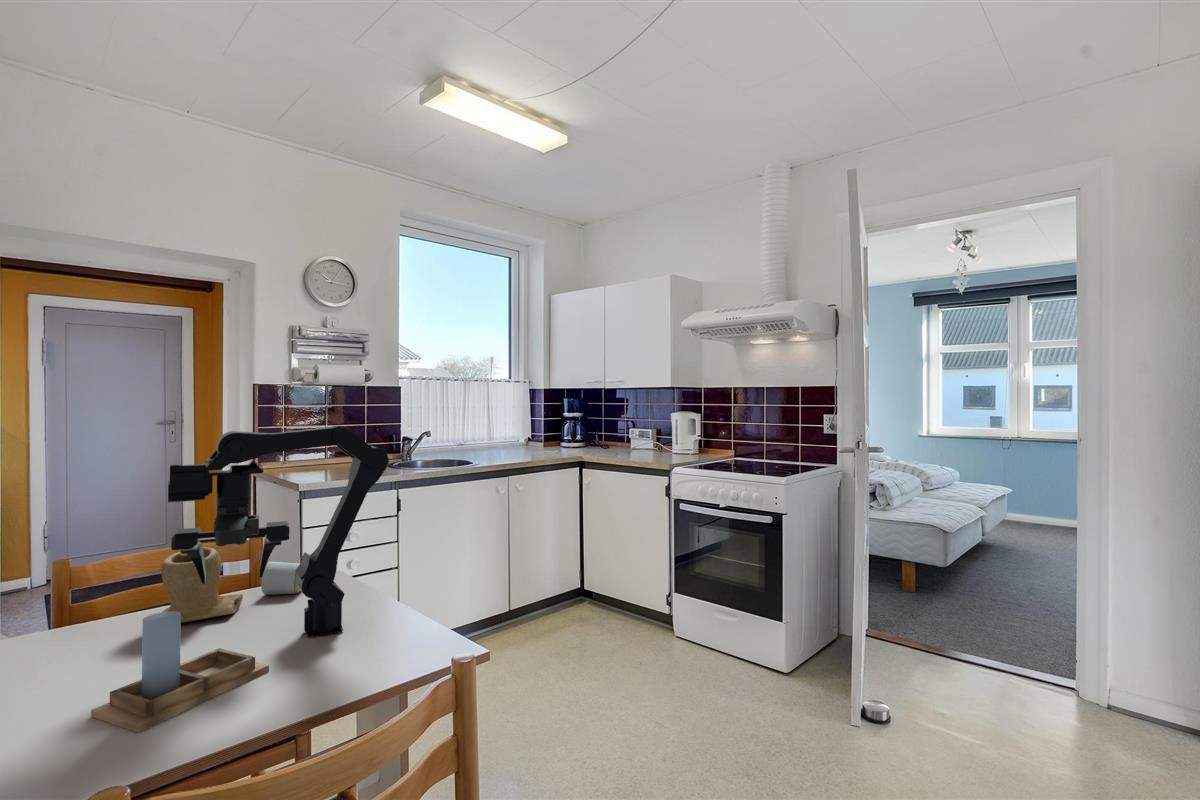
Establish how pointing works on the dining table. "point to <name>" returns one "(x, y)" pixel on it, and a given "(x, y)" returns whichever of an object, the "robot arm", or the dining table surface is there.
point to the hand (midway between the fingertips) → (232, 580)
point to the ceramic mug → (280, 578)
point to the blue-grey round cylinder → (160, 654)
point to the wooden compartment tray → (180, 690)
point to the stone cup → (196, 587)
